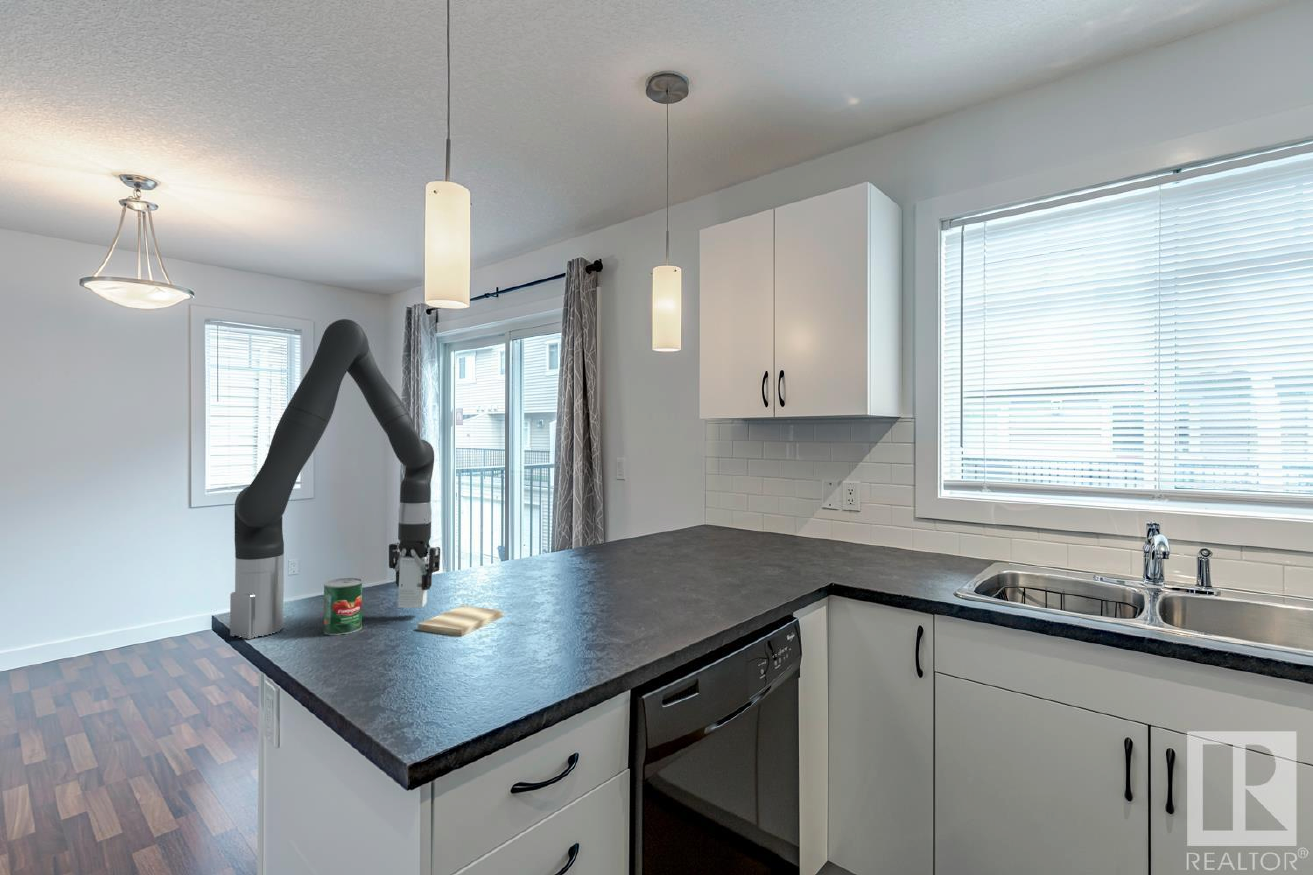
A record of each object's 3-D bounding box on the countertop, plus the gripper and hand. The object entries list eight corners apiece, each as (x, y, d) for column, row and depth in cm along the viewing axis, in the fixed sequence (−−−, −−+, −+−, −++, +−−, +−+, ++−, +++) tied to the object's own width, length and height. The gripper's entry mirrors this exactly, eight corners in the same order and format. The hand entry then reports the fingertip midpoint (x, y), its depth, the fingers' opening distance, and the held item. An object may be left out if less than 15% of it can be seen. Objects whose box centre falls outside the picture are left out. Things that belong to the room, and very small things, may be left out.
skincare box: (397, 608, 148) (398, 558, 148) (402, 603, 152) (403, 554, 152) (423, 607, 149) (424, 557, 149) (428, 603, 153) (429, 554, 153)
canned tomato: (345, 636, 136) (346, 587, 136) (315, 634, 137) (315, 585, 137) (369, 625, 144) (369, 578, 143) (340, 623, 145) (340, 577, 145)
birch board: (461, 636, 137) (461, 629, 137) (417, 630, 141) (417, 623, 141) (502, 616, 152) (502, 610, 152) (462, 611, 156) (462, 605, 156)
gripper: (380, 520, 149) (378, 588, 149) (428, 524, 145) (426, 594, 144) (403, 517, 157) (401, 581, 156) (449, 520, 152) (447, 587, 151)
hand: (413, 587), depth 150 cm, fingers closed on skincare box, 7 cm apart
